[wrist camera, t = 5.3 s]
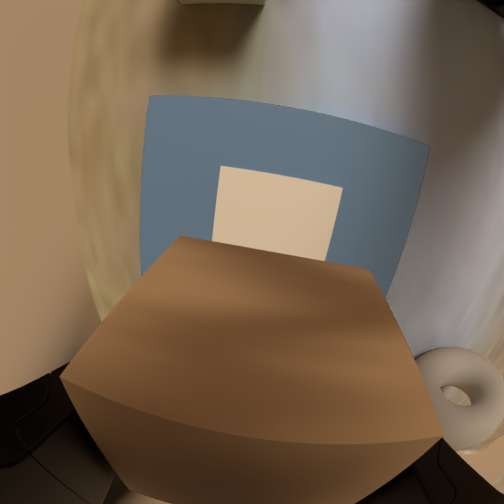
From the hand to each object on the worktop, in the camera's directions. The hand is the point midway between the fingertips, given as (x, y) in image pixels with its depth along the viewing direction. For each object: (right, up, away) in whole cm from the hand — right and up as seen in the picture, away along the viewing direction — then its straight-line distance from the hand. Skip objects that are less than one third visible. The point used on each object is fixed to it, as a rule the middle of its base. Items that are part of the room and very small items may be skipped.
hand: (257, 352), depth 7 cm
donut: (+16, -6, +12) cm, 21 cm away
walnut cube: (0, 0, +1) cm, 1 cm away
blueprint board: (+1, +4, +9) cm, 10 cm away
